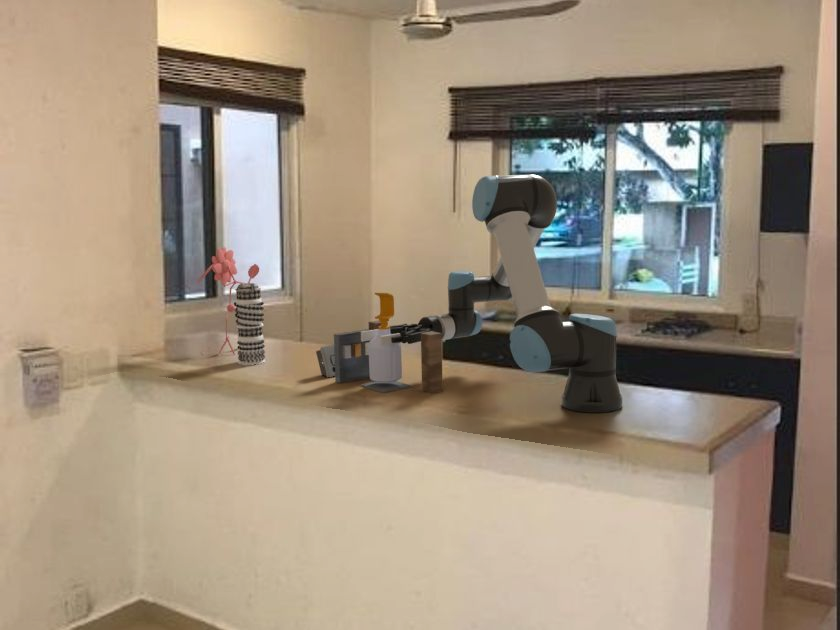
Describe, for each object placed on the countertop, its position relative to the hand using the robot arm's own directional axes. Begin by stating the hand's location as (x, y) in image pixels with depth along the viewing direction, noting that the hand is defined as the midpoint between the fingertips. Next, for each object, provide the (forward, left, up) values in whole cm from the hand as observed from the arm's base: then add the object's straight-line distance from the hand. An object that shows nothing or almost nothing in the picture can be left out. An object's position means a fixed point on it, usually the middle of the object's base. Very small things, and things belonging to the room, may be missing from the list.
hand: (371, 338), depth 261 cm
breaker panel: (+13, -3, -14) cm, 19 cm away
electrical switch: (+23, -2, -14) cm, 27 cm away
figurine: (+78, +5, -14) cm, 79 cm away
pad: (0, -5, -14) cm, 15 cm away
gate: (0, -11, -14) cm, 18 cm away
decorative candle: (+55, +8, -14) cm, 57 cm away
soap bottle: (0, -5, -12) cm, 13 cm away
